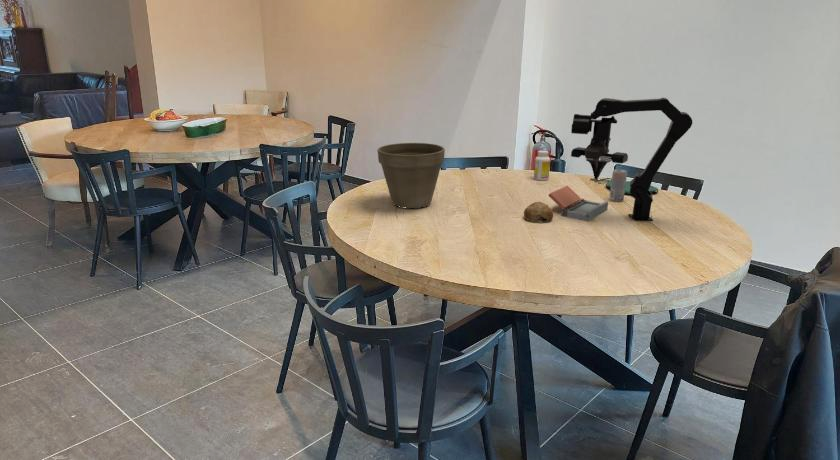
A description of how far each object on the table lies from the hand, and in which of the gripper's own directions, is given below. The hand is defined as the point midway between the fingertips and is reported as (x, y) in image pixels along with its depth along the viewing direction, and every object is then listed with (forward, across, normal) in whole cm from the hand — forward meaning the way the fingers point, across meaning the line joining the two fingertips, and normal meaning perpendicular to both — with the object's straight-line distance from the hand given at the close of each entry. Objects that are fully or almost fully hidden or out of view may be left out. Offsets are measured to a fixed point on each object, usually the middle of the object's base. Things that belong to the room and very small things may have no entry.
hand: (596, 178), depth 200 cm
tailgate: (+11, -7, -1) cm, 13 cm away
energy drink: (+13, +1, +24) cm, 27 cm away
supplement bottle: (+13, -38, +37) cm, 55 cm away
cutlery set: (+14, -4, +47) cm, 49 cm away
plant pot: (+13, -59, -33) cm, 69 cm away
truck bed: (+13, -1, -1) cm, 13 cm away
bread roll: (+13, -13, -19) cm, 26 cm away
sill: (+13, -7, -1) cm, 15 cm away
